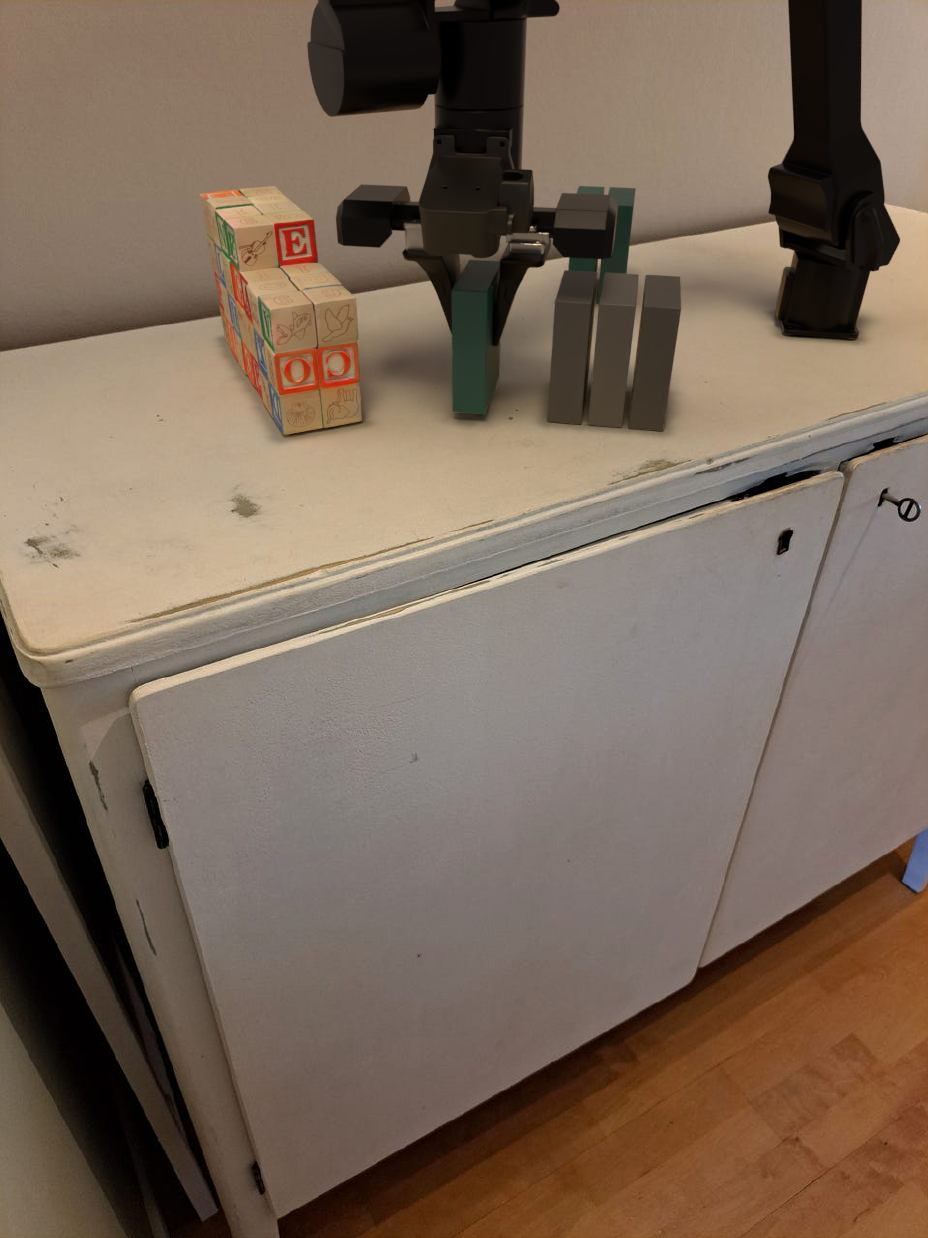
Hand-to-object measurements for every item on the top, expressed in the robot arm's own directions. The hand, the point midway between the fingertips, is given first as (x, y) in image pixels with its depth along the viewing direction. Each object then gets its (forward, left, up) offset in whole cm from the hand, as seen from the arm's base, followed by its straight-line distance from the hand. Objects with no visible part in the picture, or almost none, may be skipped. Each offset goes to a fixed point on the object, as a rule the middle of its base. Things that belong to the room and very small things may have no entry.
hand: (477, 342), depth 67 cm
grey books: (-10, -1, -5) cm, 11 cm away
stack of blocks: (+16, -2, -5) cm, 17 cm away
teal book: (0, 0, -4) cm, 4 cm away
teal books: (-7, -28, -5) cm, 29 cm away
